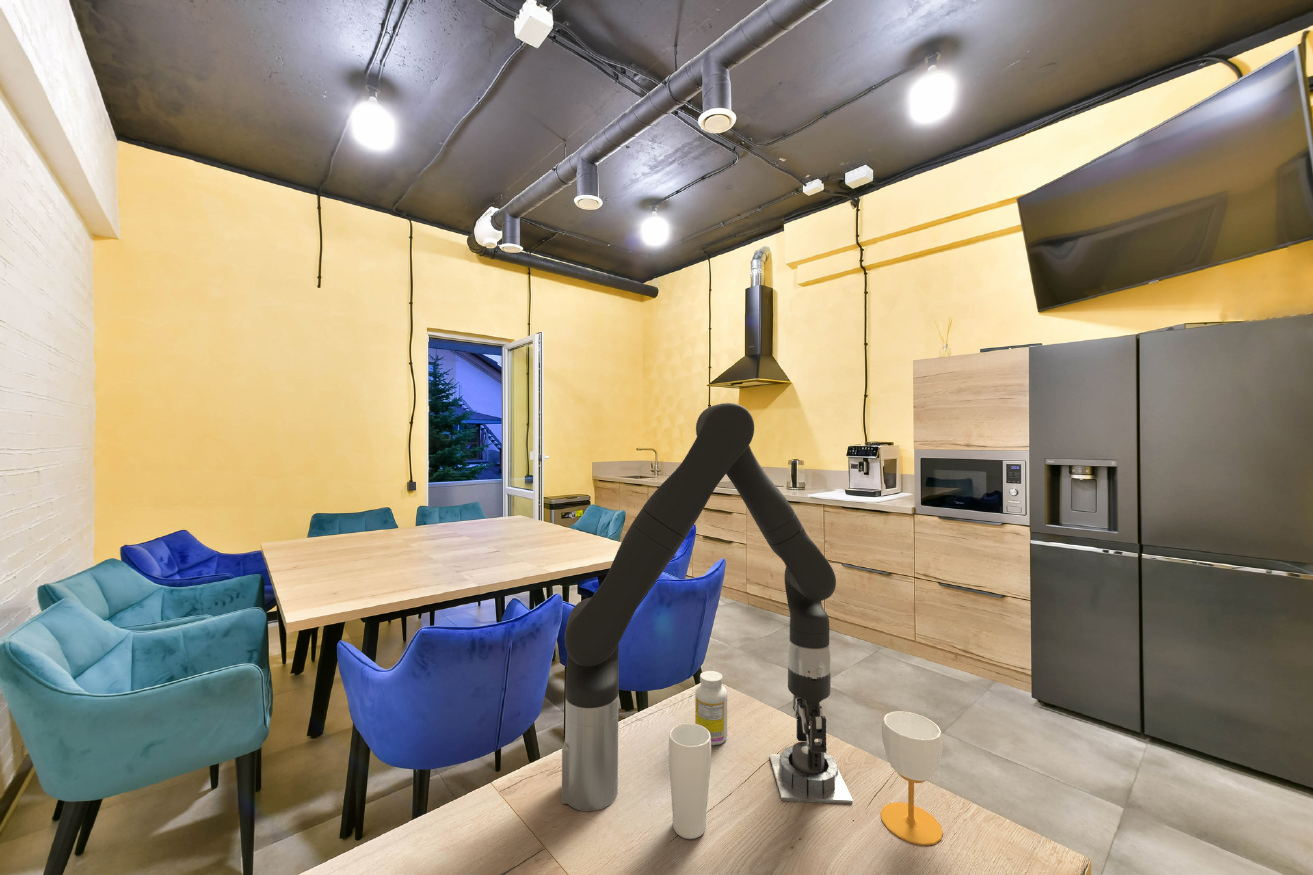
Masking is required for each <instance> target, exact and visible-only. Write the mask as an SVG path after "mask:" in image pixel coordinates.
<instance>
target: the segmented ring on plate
mask: <svg viewBox="0 0 1313 875" xmlns="http://www.w3.org/2000/svg"><path fill="white" fill-rule="evenodd" d="M792 748H793V745H792V746H789V747H786V748H784V749H783V750H782V751H781V753H780V754H779V753H769V755H768V756H769V762H770V764H771V767H772V772H773V774H774V778H775V783H776V786H777V789H778V792H779V797H780V799H781V802H799V803H800V802H802V803H803V802H804V803H825V804H826V803H827V804H828V803H829V804H847V805H848V804H851V805H852V804H853V798H852V796H851V794H850V792H849V790H848V787H847V785H846V783H845V781H844V779H843V778H842V775H841V773H840V771H839V766H838V764H837V763H836V760H835V758H834V757H833V756H832V755H830V754H828V753H827V752H826V753H824V773H822V774H819V775H811V774H806V773H803V772H800V771H797V770H796V769H795V768H794V767H793V766H792Z"/></svg>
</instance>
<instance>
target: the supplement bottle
mask: <svg viewBox="0 0 1313 875" xmlns="http://www.w3.org/2000/svg"><path fill="white" fill-rule="evenodd" d="M699 682H700V684H699V685H698V686H697V687H696V689H695V692H694V693H695V696H694V697H695V699H694V700H695V702H694V704H695V705H694V706H695V718H694V719H695V720H694V722H695V723H694V724H698V725H701V726H703V727H705V728H706V729H707V730H708V731H709V732H710V735H711V746H719V745H721V744H723V743H724V742H725V741H726V740H727V738H728V691H727V689H726V687H725V686H724V685H723V682H724V679H723V674H722V673H720V672H719V671H713V670H706V671H703V672H701V673H700V675H699Z"/></svg>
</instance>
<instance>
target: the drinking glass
mask: <svg viewBox="0 0 1313 875" xmlns="http://www.w3.org/2000/svg"><path fill="white" fill-rule="evenodd" d="M668 736H669V738H668V768H669V769H668V770H669V781H670V794H671V809H672V811H671V812H672V828H673V830H674V832H675V833H676V834H677V835H678V836H679V837H681V838H683V839H687V840H694V839H695V840H696V839H698V838H699V837H701V836H702V835H703V834H704V833H705V831H706V828H707V810H708V800H709V787H710V778H711V777H710V776H711V765H712V745H711V735H710V732H709V731H708V730H707V729H706V728H705V727H703V726H701V725H698V724H695V723H693V722H688V723H687V722H686V723H685V722H684V723H679V724H677V725H675V726H674V727H672V729H670V731H669V735H668Z"/></svg>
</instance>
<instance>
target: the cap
mask: <svg viewBox="0 0 1313 875" xmlns="http://www.w3.org/2000/svg"><path fill="white" fill-rule="evenodd" d="M792 746H793V748H792V766H793V767H794V768H795V769H796V770H797V771H800V772H803V773H806V774H811V775H819V774H822V773H824V753H821V770H820V771H811V770H809V768H808V747H807V741H797V742H796V743H794V744H793V745H792Z"/></svg>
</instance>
